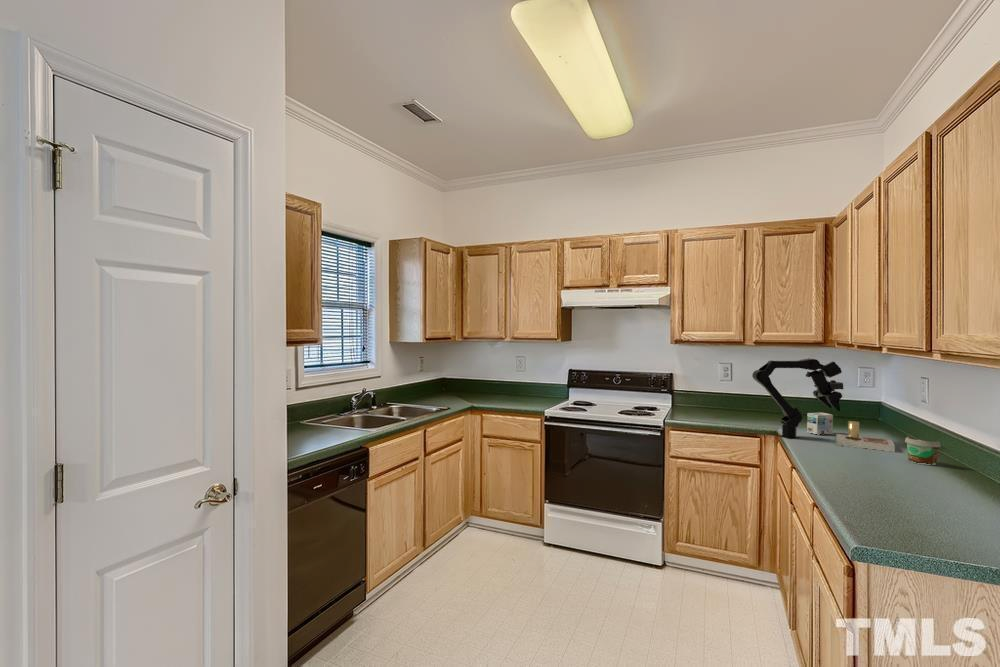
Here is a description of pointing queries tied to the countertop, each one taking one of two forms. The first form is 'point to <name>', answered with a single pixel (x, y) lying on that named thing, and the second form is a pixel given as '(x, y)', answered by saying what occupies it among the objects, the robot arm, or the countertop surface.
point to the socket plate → (866, 443)
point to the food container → (922, 451)
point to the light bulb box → (819, 423)
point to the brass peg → (853, 430)
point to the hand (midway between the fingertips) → (834, 409)
